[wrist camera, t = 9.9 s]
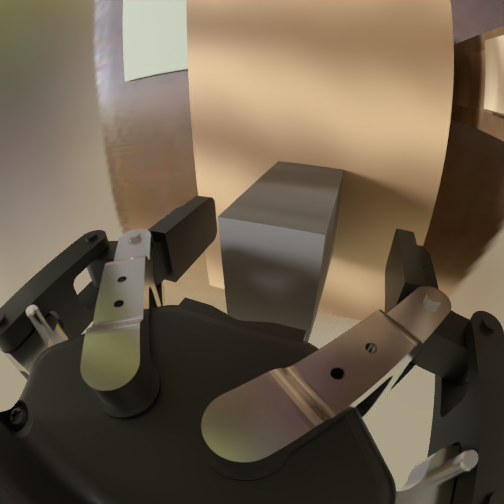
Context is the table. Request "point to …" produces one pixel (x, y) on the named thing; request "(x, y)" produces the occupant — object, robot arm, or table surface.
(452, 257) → the table surface
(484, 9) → the table surface
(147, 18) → the mat
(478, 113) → the open wooden box
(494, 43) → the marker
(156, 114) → the table surface
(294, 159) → the lid
